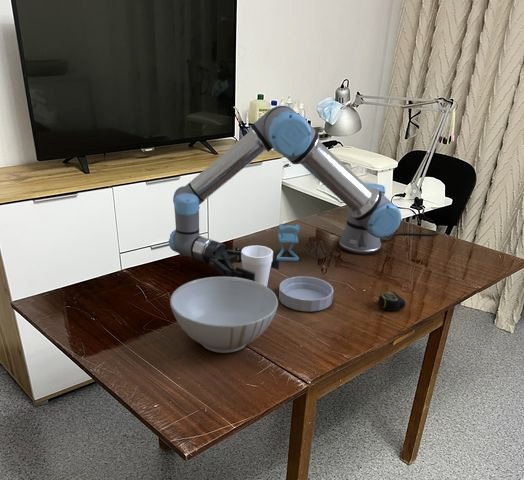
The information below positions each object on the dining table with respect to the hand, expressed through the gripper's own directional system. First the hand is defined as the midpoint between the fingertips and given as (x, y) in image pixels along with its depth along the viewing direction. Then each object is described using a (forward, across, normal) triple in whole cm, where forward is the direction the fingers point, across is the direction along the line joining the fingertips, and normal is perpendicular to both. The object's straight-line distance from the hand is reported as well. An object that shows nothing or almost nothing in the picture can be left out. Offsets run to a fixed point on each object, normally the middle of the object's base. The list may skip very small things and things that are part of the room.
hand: (266, 271), depth 162 cm
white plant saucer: (+11, -5, -8) cm, 14 cm away
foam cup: (-4, 0, -8) cm, 9 cm away
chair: (-12, -30, -8) cm, 33 cm away
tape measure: (+33, -19, -8) cm, 39 cm away
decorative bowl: (+7, +28, -8) cm, 30 cm away
